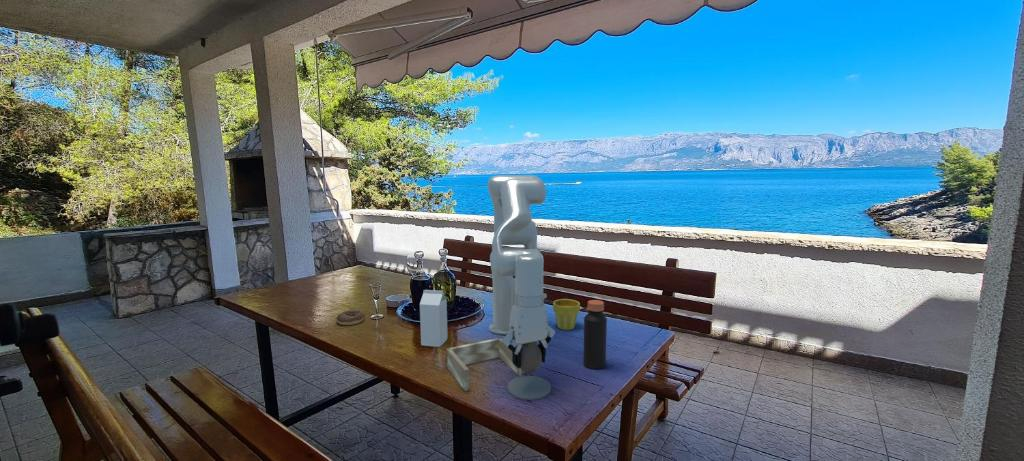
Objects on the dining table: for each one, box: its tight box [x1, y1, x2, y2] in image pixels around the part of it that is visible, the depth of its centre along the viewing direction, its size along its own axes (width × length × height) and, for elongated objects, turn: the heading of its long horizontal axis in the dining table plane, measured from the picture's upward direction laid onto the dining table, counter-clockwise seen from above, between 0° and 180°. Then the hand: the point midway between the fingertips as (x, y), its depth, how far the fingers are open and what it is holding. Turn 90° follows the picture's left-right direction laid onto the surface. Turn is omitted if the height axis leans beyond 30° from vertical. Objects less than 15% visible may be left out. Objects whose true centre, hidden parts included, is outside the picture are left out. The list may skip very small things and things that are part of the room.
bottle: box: [582, 299, 608, 370], centre depth 125 cm, size 7×7×20 cm
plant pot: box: [552, 298, 581, 331], centre depth 158 cm, size 10×10×10 cm
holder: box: [445, 337, 525, 392], centre depth 121 cm, size 18×16×6 cm
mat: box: [506, 375, 552, 401], centre depth 112 cm, size 12×12×1 cm
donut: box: [336, 309, 366, 326], centre depth 165 cm, size 11×11×4 cm
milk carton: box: [419, 289, 448, 348], centre depth 142 cm, size 7×7×19 cm
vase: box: [519, 341, 543, 374], centre depth 111 cm, size 7×7×9 cm
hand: (529, 362), depth 111 cm, fingers closed on vase, 6 cm apart
